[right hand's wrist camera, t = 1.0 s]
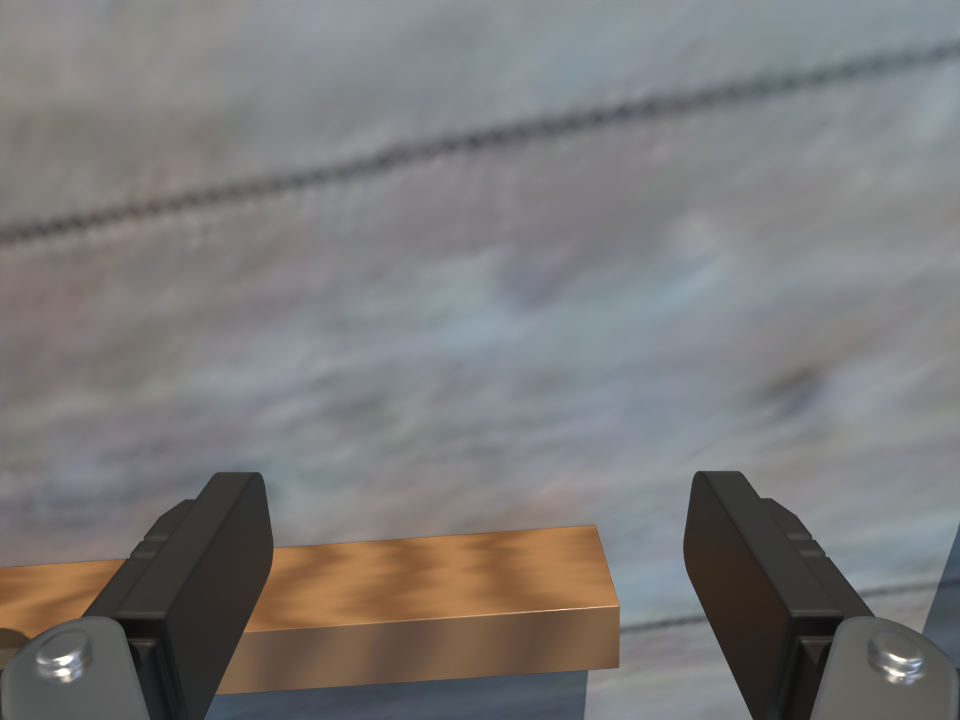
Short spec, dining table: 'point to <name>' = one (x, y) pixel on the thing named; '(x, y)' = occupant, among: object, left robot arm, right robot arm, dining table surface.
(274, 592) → the bar
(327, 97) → the dining table surface
